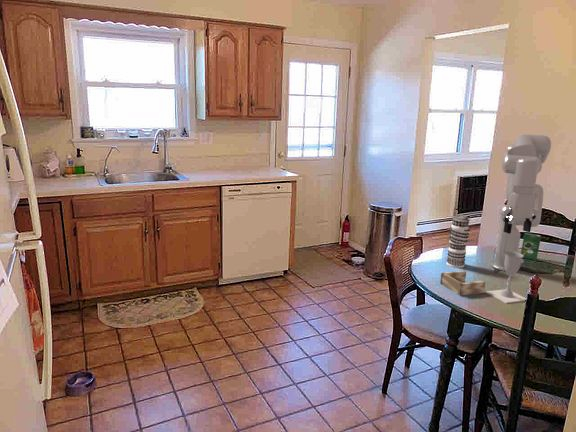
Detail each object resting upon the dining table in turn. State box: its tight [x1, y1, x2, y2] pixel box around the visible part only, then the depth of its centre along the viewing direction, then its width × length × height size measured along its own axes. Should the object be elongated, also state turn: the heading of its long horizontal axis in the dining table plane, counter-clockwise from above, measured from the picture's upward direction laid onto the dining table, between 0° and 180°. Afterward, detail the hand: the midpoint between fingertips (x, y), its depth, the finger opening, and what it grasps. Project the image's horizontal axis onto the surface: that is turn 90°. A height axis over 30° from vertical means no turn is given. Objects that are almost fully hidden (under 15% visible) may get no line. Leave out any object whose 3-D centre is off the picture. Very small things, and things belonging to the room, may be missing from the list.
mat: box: [486, 288, 527, 304], centre depth 187 cm, size 11×11×1 cm
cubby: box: [439, 270, 487, 296], centre depth 194 cm, size 12×13×5 cm
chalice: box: [500, 251, 523, 298], centre depth 185 cm, size 7×7×18 cm
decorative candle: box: [446, 214, 471, 269], centre depth 221 cm, size 9×9×25 cm
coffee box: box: [520, 232, 542, 261], centre depth 236 cm, size 8×3×13 cm, turn 58°
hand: (516, 232), depth 180 cm, fingers open, 9 cm apart
